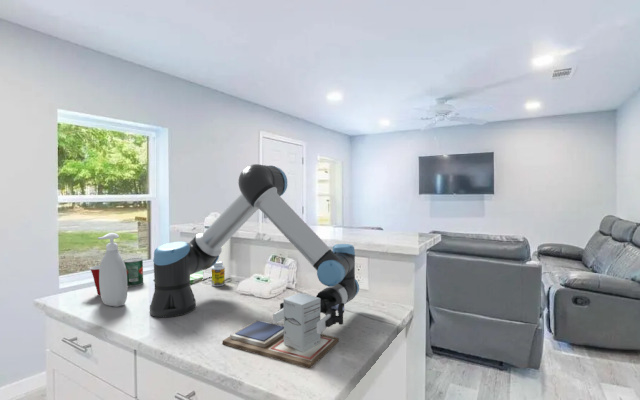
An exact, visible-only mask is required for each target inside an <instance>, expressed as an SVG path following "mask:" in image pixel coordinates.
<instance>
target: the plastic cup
mask: <svg viewBox="0 0 640 400" xmlns="http://www.w3.org/2000/svg"><path fill="white" fill-rule="evenodd" d="M89 270H90V272H91V274H92V277H93V282H94V286H95V288H96V293H97V295H98V296H99V297H101V295H100V287H99V270H100V265H99V264H98V265H94V266H90V267H89Z"/></svg>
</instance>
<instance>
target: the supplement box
mask: <svg viewBox="0 0 640 400" xmlns="http://www.w3.org/2000/svg"><path fill="white" fill-rule="evenodd" d="M320 300H321V299H320V298H318V297H316V296H314V295H311V294H307V293H304V292H299V293H297V294H293V295H290V296H287V297H285V298H283V303H284V319H283V326H284V345H288V346H290V347H292V348H295V349H297V350H299V351H301V352H305V351H307V350H309V349H310V348H312V347H314V346H316V345H318V344H320V334H321V333H320V334H318V333H317V322H318V321H320V320H321V313H320Z"/></svg>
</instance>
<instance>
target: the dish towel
mask: <svg viewBox="0 0 640 400" xmlns="http://www.w3.org/2000/svg"><path fill="white" fill-rule="evenodd" d="M203 271H204V270H202V271H199V272H196V273H194V274H191V275H190V285H192V284H193V285H194V284H196V283H200V282H202V281H203V280H202V279H203ZM153 282H154V283H155V281H154V279H153Z"/></svg>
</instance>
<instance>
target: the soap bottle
mask: <svg viewBox="0 0 640 400" xmlns="http://www.w3.org/2000/svg"><path fill="white" fill-rule="evenodd" d="M117 238H120V235H119V234H118V233H115V232H108V233H107V234H104V235H103V236H99V237H97V239H98V240H107V239H108V240H109V242H108V243H107V244H106V245H105V248H106V249H105V250H106V251H105V254H104V255H103V257H102V258H101V261H100V263H99V264H100V270H99V287H100V295H101V296H100V297H101V301H102V303H103V304H104V305H106V306H109V307H115V308H116V307H122V306H124V305H125V304H126V301H127V299H128V286H127V272H126V266H125V263H124V260H125V259H123V256H122V255H121V253H120V252H119V249H118V248H119V246H118V243H117V242H114V239H117Z"/></svg>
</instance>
